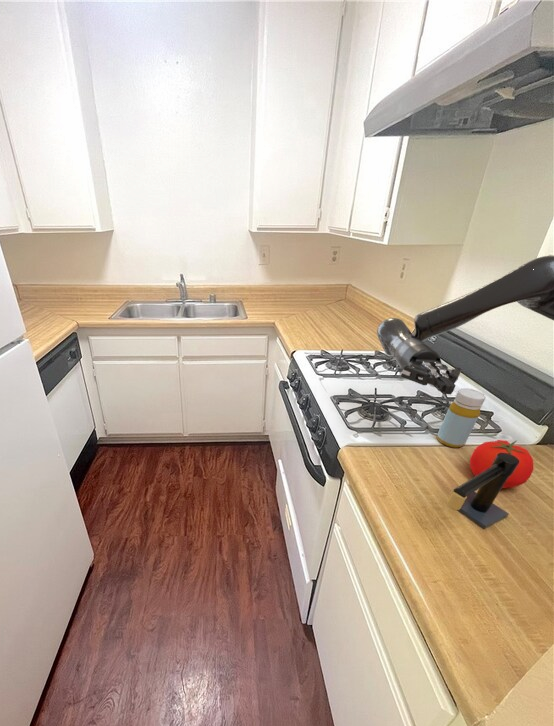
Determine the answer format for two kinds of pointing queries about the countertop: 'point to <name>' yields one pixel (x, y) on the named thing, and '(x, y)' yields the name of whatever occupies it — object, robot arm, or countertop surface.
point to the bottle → (461, 418)
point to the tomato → (488, 453)
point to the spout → (483, 479)
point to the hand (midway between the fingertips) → (449, 390)
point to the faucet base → (485, 504)
